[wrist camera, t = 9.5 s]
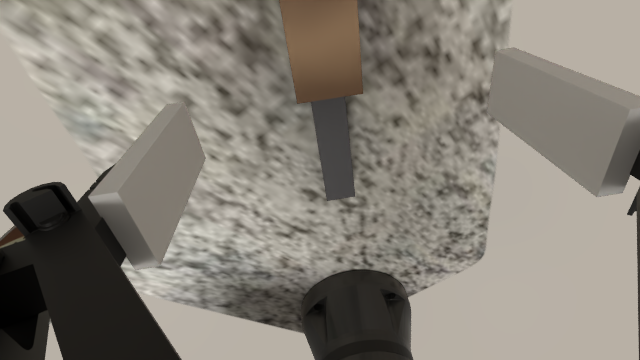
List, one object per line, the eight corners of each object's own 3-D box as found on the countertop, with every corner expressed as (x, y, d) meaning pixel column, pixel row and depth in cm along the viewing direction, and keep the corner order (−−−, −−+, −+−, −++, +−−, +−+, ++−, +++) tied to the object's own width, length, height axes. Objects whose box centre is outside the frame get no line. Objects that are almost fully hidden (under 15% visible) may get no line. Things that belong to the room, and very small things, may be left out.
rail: (350, 177, 36) (355, 196, 33) (324, 181, 36) (327, 200, 33) (330, -1, 27) (335, 5, 24) (295, 5, 27) (296, 11, 24)
